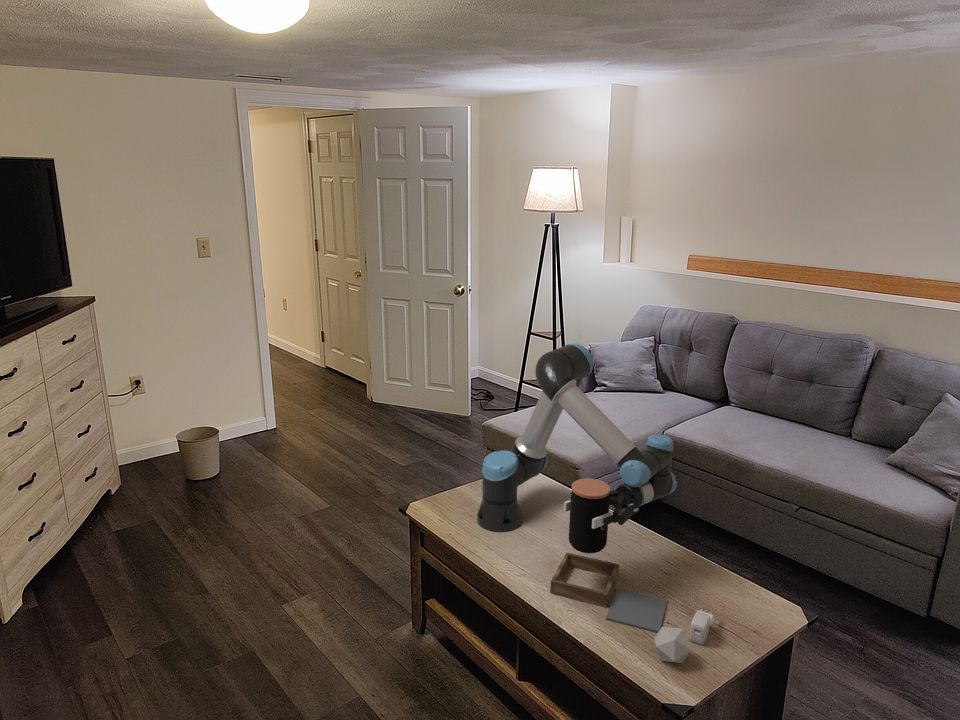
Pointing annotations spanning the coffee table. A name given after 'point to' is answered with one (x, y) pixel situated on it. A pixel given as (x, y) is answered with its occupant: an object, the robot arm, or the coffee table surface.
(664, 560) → the coffee table surface
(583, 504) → the coffee jar
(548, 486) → the coffee table surface
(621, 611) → the rubber mat
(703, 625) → the power adapter
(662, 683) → the coffee table surface
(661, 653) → the die
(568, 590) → the walnut crate
